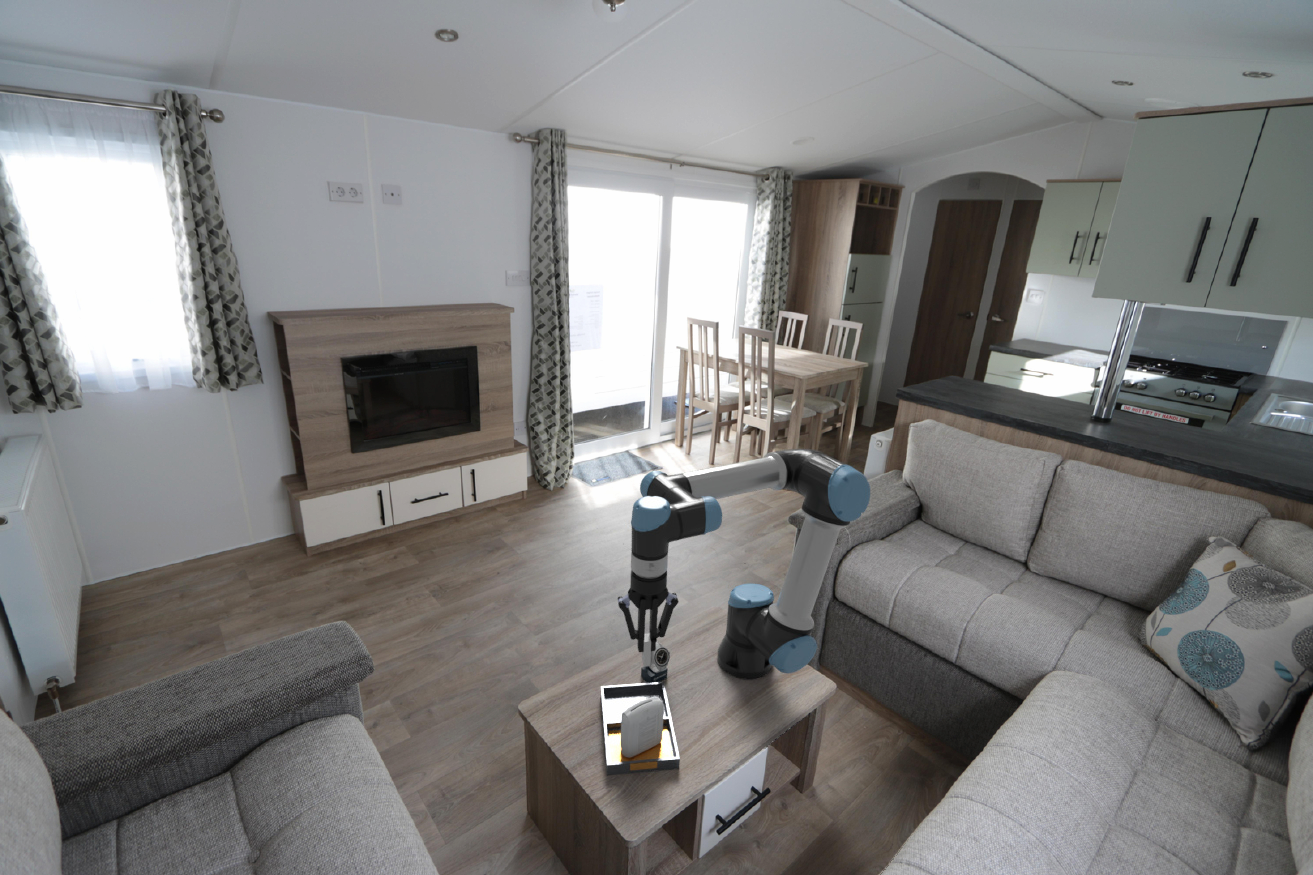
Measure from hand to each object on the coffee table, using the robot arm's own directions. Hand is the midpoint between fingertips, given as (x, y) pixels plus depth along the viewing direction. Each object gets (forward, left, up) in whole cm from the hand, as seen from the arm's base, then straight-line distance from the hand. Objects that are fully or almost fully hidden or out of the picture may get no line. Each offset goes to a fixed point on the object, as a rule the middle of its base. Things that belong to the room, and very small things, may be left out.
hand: (646, 661), depth 134 cm
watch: (-6, -22, -25) cm, 34 cm away
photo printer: (0, +1, -23) cm, 23 cm away
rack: (+1, -5, -24) cm, 25 cm away
